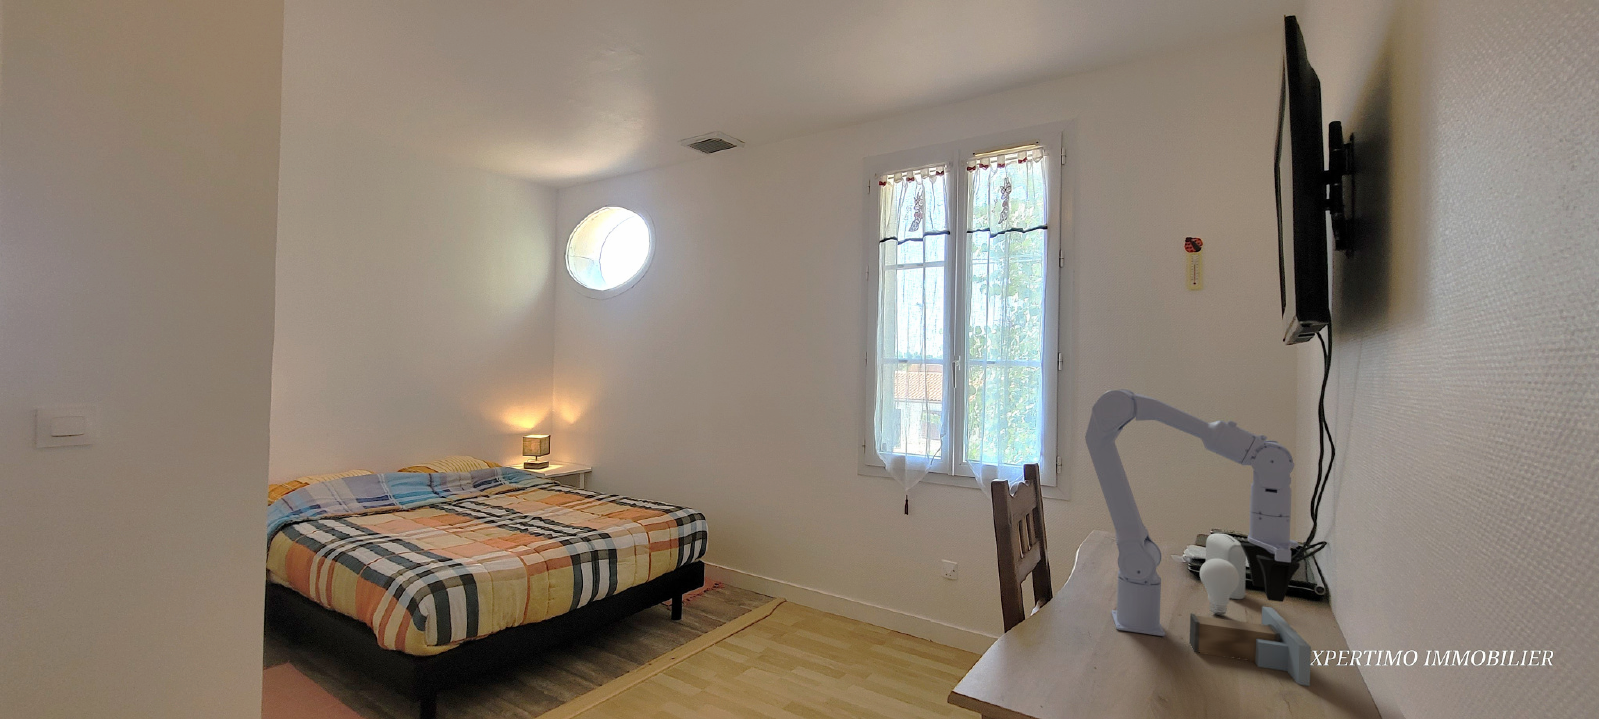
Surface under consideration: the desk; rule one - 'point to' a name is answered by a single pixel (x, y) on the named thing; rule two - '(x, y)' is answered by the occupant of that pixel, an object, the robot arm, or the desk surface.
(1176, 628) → the desk surface
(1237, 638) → the half pipe ramp
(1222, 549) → the white rounded slab
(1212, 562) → the light bulb
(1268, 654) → the grey footed slab
